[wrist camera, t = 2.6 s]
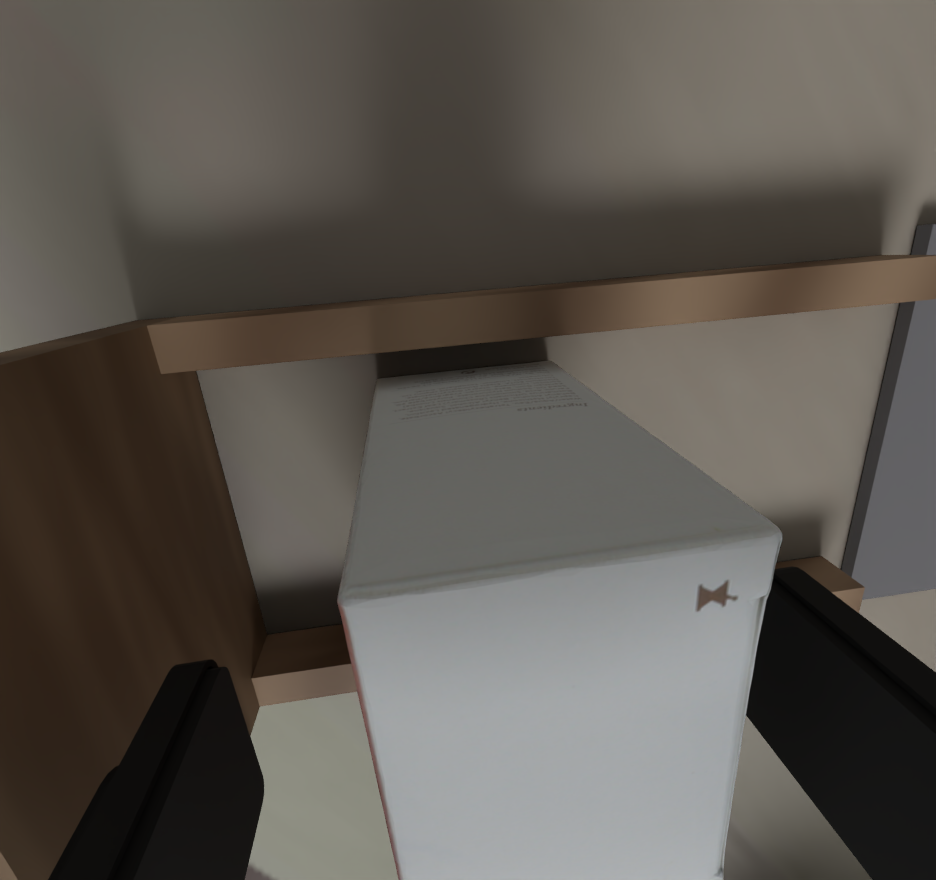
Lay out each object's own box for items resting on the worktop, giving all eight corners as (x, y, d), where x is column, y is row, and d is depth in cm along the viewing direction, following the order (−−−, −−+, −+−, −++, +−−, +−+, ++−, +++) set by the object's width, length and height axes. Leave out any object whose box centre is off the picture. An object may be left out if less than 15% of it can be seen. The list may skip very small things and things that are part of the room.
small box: (375, 374, 15) (322, 585, 5) (553, 356, 16) (801, 519, 6) (406, 591, 18) (409, 987, 8) (557, 570, 19) (729, 921, 9)
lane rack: (882, 255, 16) (1564, 252, 7) (816, 581, 20) (1170, 859, 11) (135, 320, 14) (-406, 448, 5) (240, 665, 18) (71, 1090, 9)
